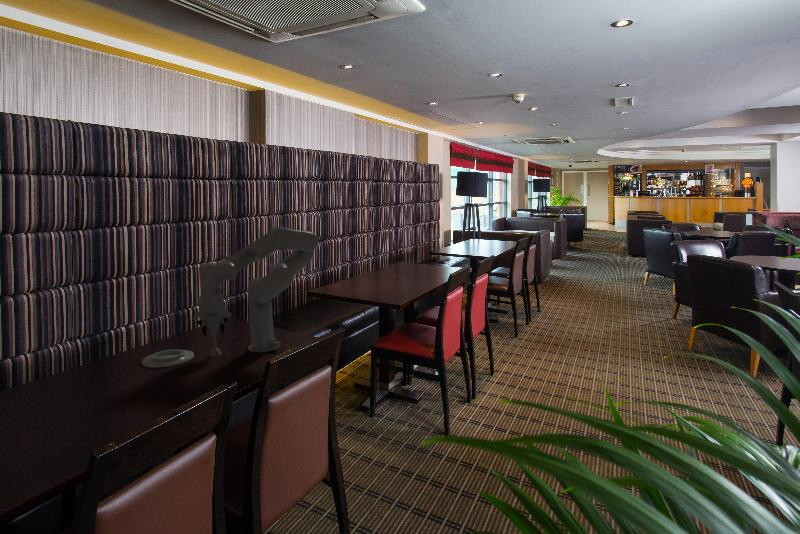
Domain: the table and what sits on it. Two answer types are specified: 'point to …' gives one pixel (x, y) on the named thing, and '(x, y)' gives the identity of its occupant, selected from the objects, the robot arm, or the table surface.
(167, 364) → the plate
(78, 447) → the table surface
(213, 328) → the chalice
